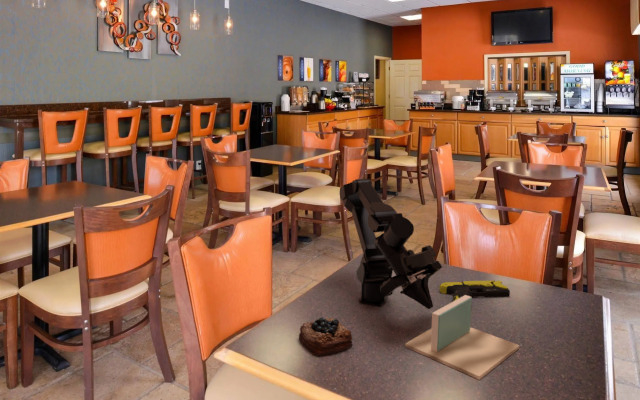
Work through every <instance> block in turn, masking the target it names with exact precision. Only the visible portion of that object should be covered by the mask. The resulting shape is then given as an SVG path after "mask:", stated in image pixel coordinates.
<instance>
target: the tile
mask: <svg viewBox="0 0 640 400" xmlns="http://www.w3.org/2000/svg"><path fill="white" fill-rule="evenodd" d="M472 304H473V297H470V296H467V295H464V296H463V297H461V298H459V299H457V300H455V301H453V300H452V302H449V303H448V304H446V305H444V306H442V307H441V308H439V309H437V310H435V311H433V312H432V313H431V316H432V317H431V328H432V330H431V350H433V351H435V352H438V351H439V350H441V349H442V348H444V347H445V346H447V345H449V344H450V343H452V342H453V341H455V340H456V339H458V338H460V337H461V336H463V335H464V334H466V333H467V332H469V331H470V327H471V322H472V321H471V319H472V307H471V306H473V305H472Z"/></svg>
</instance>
